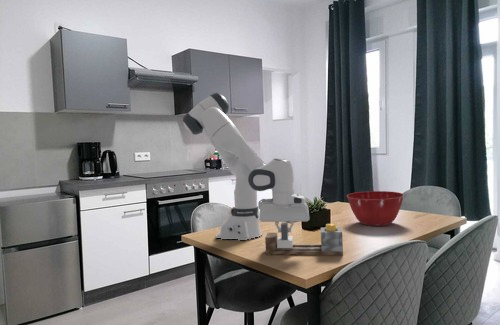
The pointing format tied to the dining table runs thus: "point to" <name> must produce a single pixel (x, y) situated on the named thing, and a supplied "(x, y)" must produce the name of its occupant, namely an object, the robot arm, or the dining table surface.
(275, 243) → the rail base
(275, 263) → the dining table surface
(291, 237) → the carriage
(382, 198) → the mixing bowl
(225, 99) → the robot arm
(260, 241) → the dining table surface
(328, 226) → the gauge button
